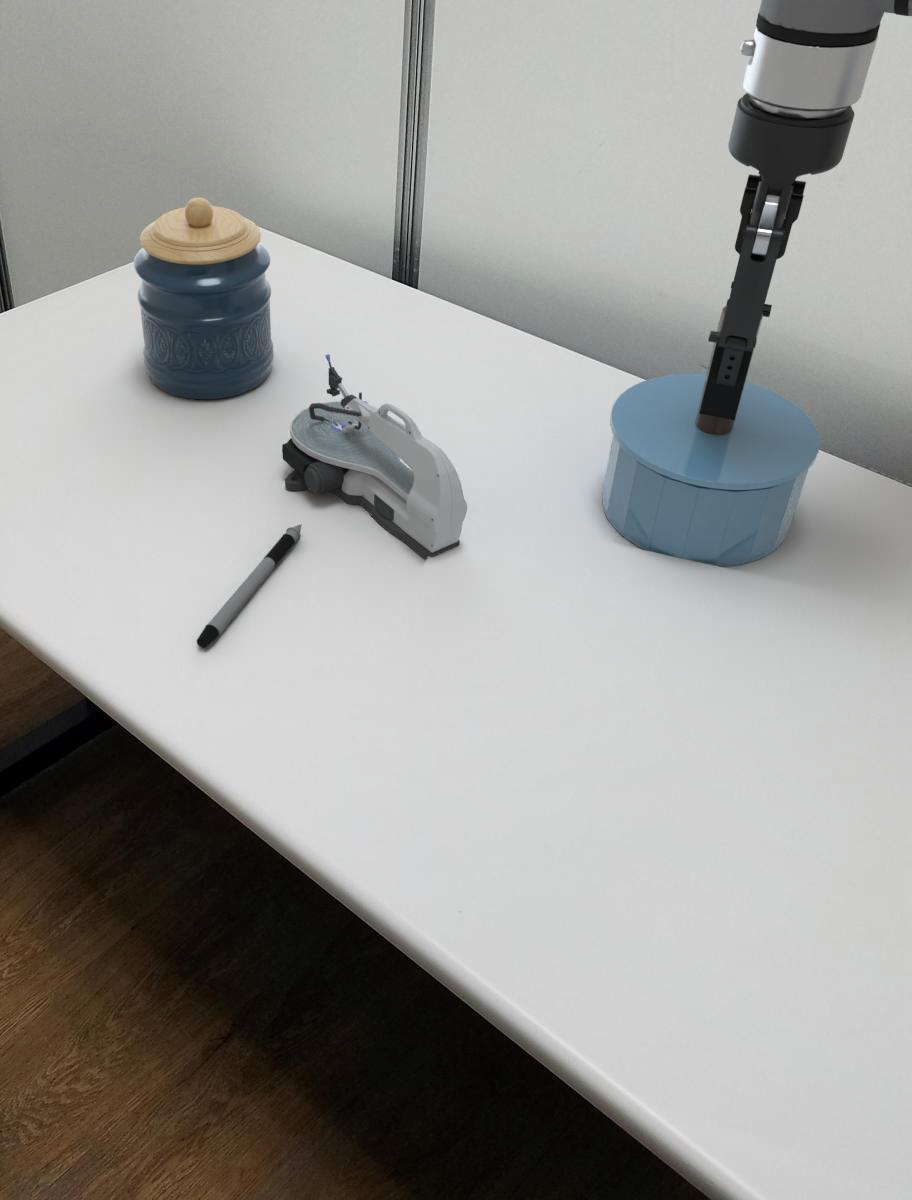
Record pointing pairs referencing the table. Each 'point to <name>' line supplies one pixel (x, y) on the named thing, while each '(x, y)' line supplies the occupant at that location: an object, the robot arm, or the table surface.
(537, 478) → the table surface
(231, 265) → the canister
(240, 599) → the pen
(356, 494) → the scroll saw
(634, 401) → the bowl lid
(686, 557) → the bowl
